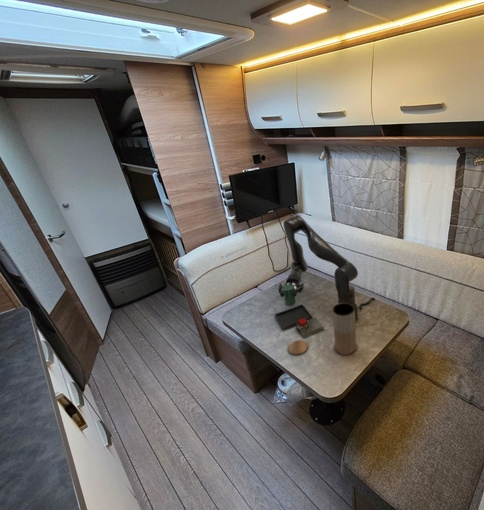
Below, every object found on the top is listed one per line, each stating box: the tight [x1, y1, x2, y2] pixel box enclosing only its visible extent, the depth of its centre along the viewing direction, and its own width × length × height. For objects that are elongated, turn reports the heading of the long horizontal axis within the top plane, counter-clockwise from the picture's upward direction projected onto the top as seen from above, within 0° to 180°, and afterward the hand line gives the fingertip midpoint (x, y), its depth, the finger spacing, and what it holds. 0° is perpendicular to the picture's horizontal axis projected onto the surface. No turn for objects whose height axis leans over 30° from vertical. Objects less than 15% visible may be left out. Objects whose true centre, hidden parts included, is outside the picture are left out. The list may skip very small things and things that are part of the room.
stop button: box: [299, 319, 306, 325], centre depth 148 cm, size 4×4×2 cm
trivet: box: [288, 340, 308, 356], centre depth 137 cm, size 9×9×1 cm
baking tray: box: [274, 304, 313, 331], centre depth 159 cm, size 17×14×2 cm
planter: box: [332, 303, 357, 355], centre depth 131 cm, size 10×10×23 cm
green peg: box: [282, 284, 297, 307], centre depth 150 cm, size 6×6×10 cm
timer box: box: [296, 317, 324, 338], centre depth 149 cm, size 12×10×4 cm
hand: (287, 295), depth 148 cm, fingers closed on green peg, 6 cm apart
